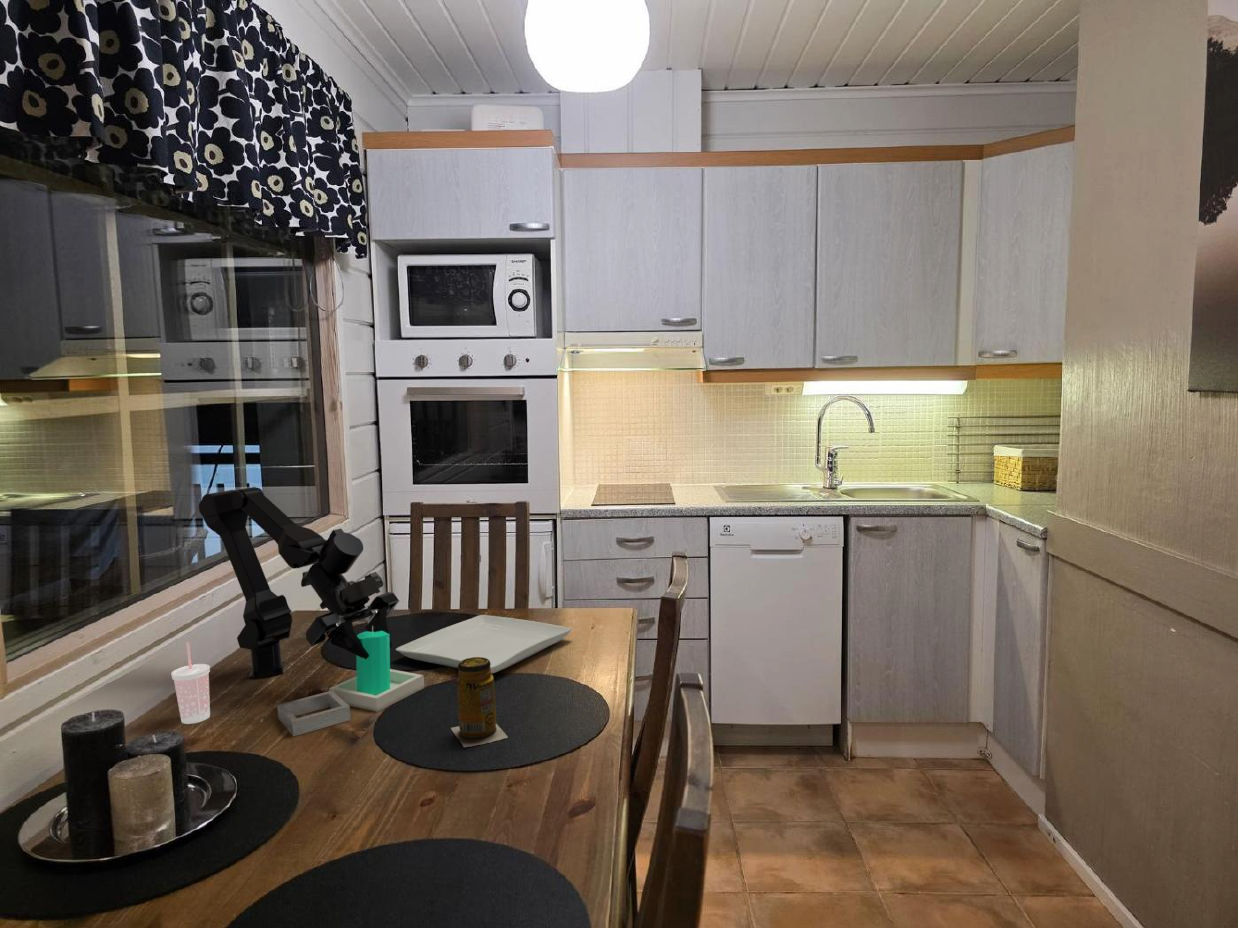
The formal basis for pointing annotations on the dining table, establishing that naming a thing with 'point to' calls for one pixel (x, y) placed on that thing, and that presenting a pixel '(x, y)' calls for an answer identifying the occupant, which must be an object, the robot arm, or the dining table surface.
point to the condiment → (476, 704)
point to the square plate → (485, 641)
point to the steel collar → (314, 721)
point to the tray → (399, 689)
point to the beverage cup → (192, 691)
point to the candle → (374, 663)
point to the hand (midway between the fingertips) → (379, 652)
